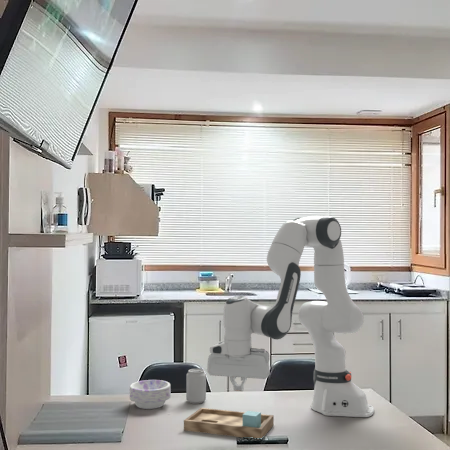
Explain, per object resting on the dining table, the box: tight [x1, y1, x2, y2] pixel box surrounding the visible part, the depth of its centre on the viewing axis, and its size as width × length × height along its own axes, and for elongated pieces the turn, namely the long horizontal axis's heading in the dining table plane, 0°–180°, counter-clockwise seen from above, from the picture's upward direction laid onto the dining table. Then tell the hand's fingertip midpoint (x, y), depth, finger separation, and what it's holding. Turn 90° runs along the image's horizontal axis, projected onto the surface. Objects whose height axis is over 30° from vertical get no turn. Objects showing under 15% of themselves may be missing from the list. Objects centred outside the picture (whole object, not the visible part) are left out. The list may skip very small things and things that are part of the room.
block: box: [243, 410, 262, 428], centre depth 177 cm, size 4×4×4 cm
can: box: [185, 368, 207, 405], centre depth 214 cm, size 8×8×12 cm
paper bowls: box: [129, 379, 172, 410], centre depth 209 cm, size 15×15×8 cm
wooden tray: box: [183, 407, 275, 438], centre depth 183 cm, size 26×15×3 cm, turn 71°
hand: (238, 390), depth 179 cm, fingers closed
